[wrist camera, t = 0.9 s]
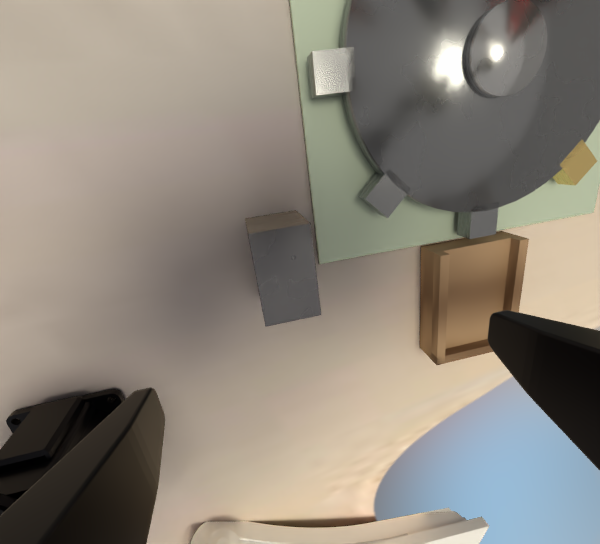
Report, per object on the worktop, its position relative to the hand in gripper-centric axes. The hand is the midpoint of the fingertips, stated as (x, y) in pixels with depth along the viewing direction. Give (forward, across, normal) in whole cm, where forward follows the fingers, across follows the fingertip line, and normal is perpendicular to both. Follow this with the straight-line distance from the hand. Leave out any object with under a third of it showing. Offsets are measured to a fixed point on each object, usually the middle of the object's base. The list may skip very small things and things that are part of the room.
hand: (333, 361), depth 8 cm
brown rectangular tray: (+12, -12, +6) cm, 18 cm away
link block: (+12, 0, +1) cm, 12 cm away
